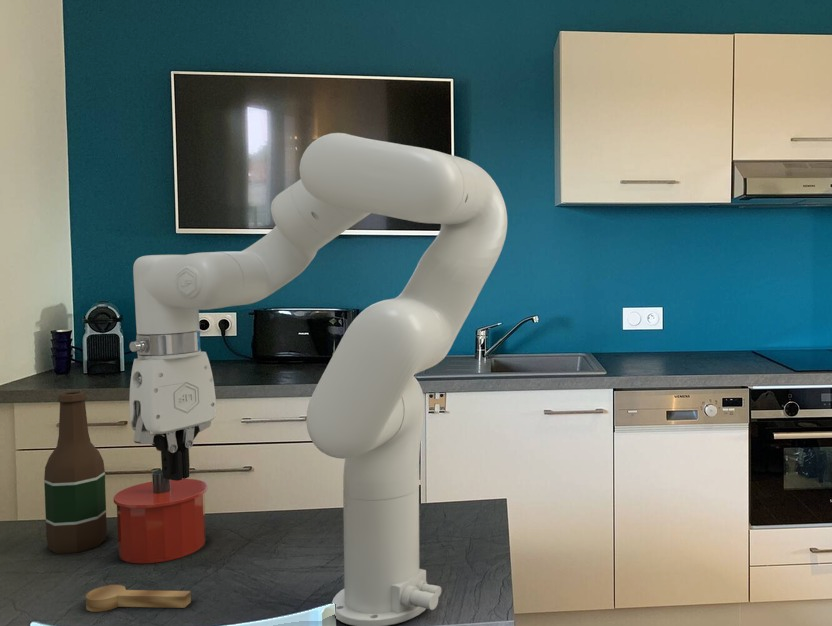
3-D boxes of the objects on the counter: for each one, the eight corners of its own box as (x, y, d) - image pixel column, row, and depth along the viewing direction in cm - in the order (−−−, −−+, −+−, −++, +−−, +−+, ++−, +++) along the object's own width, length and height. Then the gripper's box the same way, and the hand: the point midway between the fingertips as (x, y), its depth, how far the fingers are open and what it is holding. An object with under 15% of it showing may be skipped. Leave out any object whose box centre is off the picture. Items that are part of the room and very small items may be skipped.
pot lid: (225, 492, 122) (225, 466, 122) (150, 517, 111) (149, 489, 111) (171, 481, 128) (171, 456, 127) (94, 504, 116) (93, 477, 116)
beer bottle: (77, 557, 116) (71, 398, 115) (33, 552, 118) (27, 396, 116) (118, 537, 124) (114, 389, 122) (77, 533, 125) (72, 386, 124)
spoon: (196, 597, 104) (196, 586, 103) (178, 613, 99) (178, 601, 99) (100, 595, 104) (100, 584, 104) (78, 611, 99) (77, 599, 99)
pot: (221, 541, 123) (220, 488, 122) (152, 569, 112) (151, 511, 112) (172, 529, 128) (171, 478, 127) (101, 555, 117) (99, 499, 117)
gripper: (135, 354, 97) (142, 498, 98) (235, 339, 111) (241, 466, 112) (96, 351, 100) (104, 491, 101) (198, 338, 114) (205, 461, 115)
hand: (176, 477), depth 106 cm, fingers closed
